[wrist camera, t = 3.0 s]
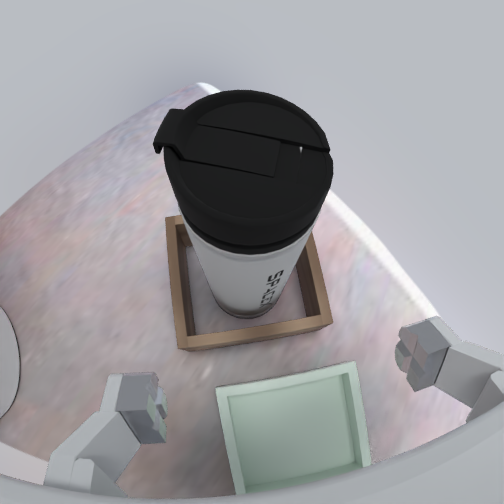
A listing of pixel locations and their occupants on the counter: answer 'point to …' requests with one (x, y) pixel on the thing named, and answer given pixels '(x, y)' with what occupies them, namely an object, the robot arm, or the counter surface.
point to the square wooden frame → (189, 341)
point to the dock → (294, 428)
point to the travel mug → (246, 190)
